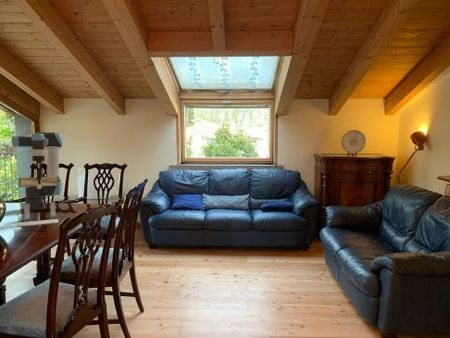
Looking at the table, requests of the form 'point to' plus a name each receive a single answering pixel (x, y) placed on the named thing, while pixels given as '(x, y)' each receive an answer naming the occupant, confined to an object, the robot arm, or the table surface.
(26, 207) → the post near
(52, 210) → the post far
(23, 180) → the rail
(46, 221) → the mat
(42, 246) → the table surface
